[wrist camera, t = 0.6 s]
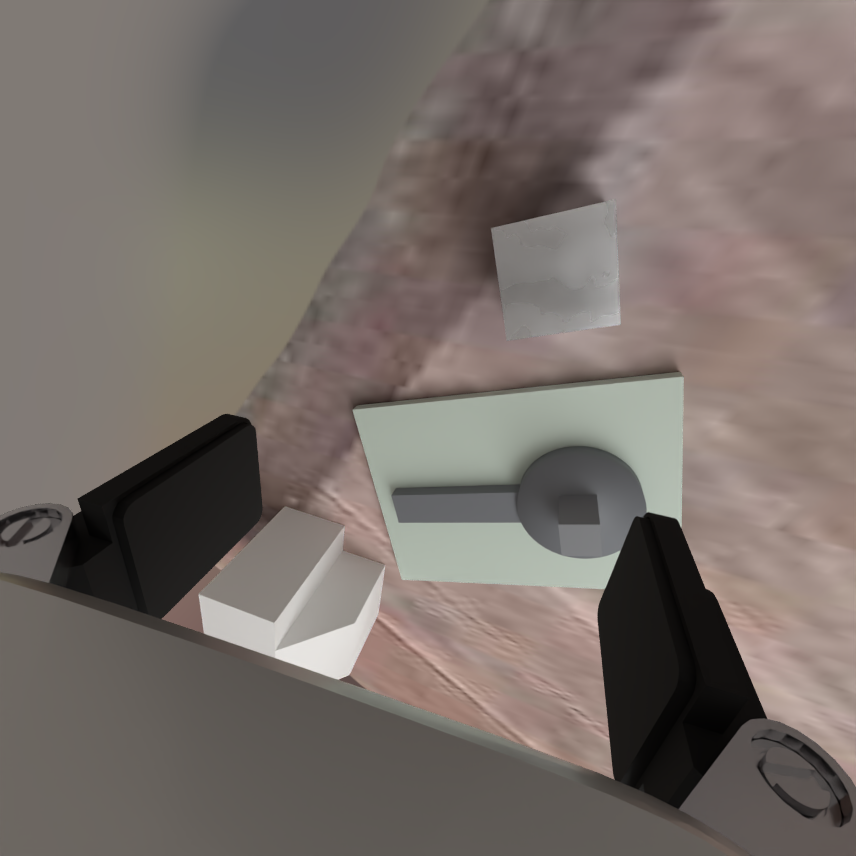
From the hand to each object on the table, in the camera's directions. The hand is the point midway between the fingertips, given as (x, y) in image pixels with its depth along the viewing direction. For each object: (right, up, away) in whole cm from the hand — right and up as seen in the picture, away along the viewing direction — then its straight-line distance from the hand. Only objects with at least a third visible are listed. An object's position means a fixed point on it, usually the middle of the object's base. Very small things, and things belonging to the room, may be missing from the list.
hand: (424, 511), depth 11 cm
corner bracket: (-10, -12, +35) cm, 38 cm away
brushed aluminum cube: (+8, +12, +17) cm, 23 cm away
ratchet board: (+7, -3, +25) cm, 27 cm away
